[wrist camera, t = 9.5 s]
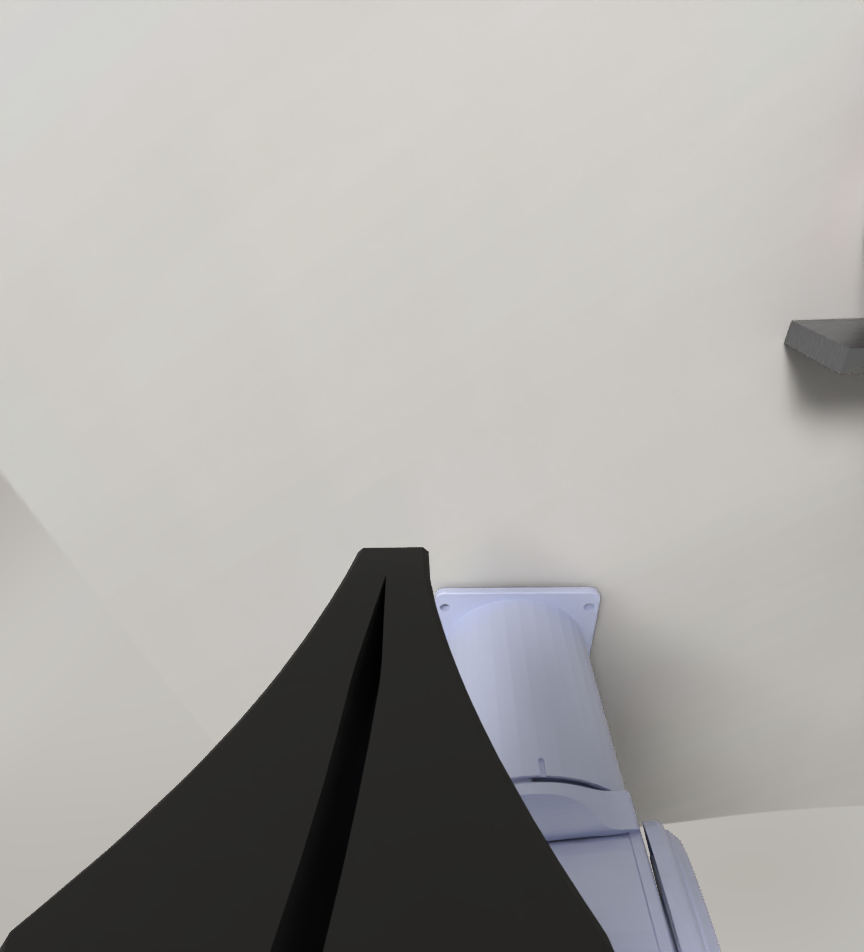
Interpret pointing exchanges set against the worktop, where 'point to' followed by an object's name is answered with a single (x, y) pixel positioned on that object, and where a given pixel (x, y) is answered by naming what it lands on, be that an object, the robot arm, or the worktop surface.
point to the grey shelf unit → (830, 343)
